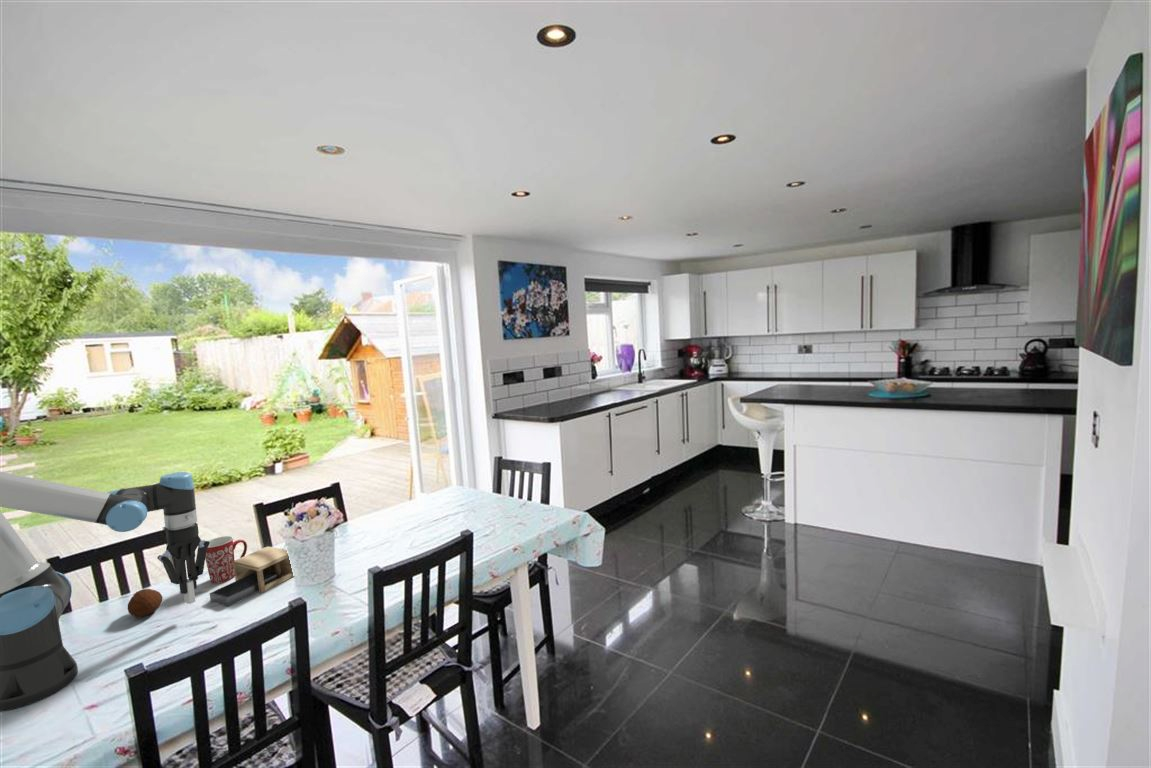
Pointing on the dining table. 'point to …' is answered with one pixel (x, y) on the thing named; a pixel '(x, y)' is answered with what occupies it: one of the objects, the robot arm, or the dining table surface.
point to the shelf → (264, 566)
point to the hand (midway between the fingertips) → (190, 601)
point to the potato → (144, 602)
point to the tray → (240, 589)
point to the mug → (222, 558)
